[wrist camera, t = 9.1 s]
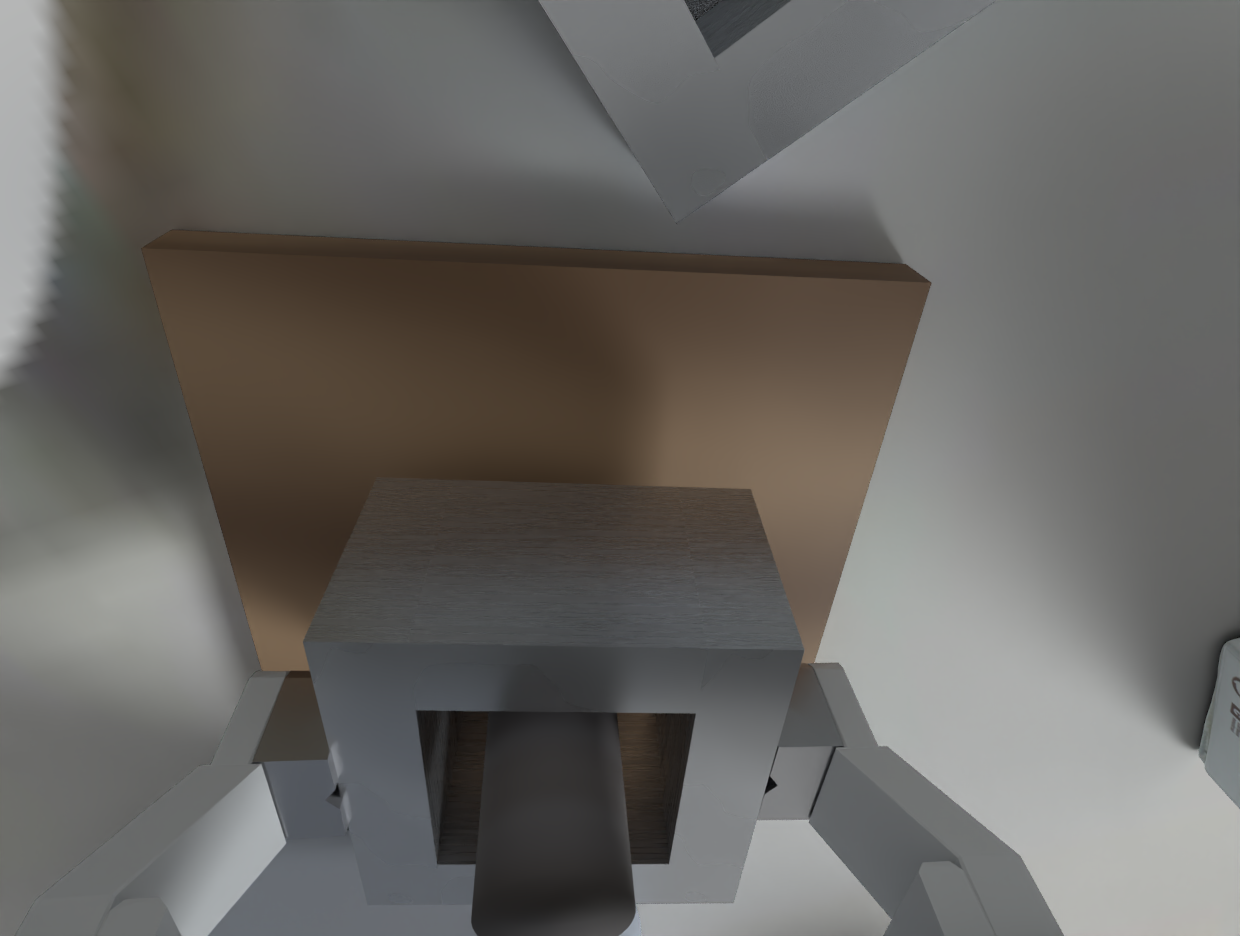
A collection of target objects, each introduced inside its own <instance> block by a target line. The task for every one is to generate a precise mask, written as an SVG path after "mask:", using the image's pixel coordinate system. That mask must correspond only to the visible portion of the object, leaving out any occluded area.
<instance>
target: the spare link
mask: <svg viewBox="0 0 1240 936" xmlns="http://www.w3.org/2000/svg"><path fill="white" fill-rule="evenodd" d="M538 1H539V2H540V4H541V6H542V7H543V9H544V11H545V12H546V14H547V15H548V17H549V19H550V20H551V22H552V23H553V25H554V27H555V28H556V30H557V32H558V33H559V35H560V36H561V38H562V40H563V41H564V43H565V44H566V46H567V48H568V49H569V51H570V53H571V54H572V56H573V57H574V59H575V61H576V62H577V64H578V65H579V67H580V69H581V70H582V72H583V73H584V75H585V77H586V78H587V80H588V82H589V83H590V85H591V86H592V88H593V90H594V91H595V93H596V94H597V96H598V98H599V99H600V101H601V103H602V104H603V106H604V107H605V109H606V111H607V112H608V114H609V115H610V117H611V119H612V120H613V122H614V124H615V125H616V127H617V128H618V130H619V132H620V133H621V135H622V136H623V138H624V140H625V141H626V143H627V145H628V146H629V148H630V149H631V151H632V153H633V154H634V156H635V157H636V159H637V161H638V162H639V164H640V166H641V167H642V169H643V170H644V172H645V174H646V175H647V177H648V178H649V180H650V182H651V183H652V185H653V186H654V188H655V190H656V191H657V193H658V195H659V196H660V198H661V199H662V201H663V203H664V204H665V206H666V207H667V209H668V211H669V212H670V214H671V216H672V217H673V219H674V220H675V222H676V224H677V223H678V222H680V221H681V220H683V219H684V218H685V217H687V216H688V215H690V214H691V213H693V212H694V211H696V210H697V209H698V208H700V207H701V206H703V205H704V204H706V203H707V202H708V201H710V200H711V199H713V198H714V197H716V196H717V195H718V194H720V193H721V192H723V191H724V190H726V189H727V188H728V187H730V186H731V185H733V184H734V183H736V182H737V181H738V180H740V179H741V178H743V177H744V176H746V175H747V174H749V173H750V172H751V171H753V170H754V169H756V168H757V167H759V166H760V165H761V164H763V163H764V162H766V161H767V160H769V159H770V158H771V157H773V156H774V155H776V154H777V153H779V152H780V151H781V150H783V149H784V148H786V147H787V146H789V145H790V144H791V143H793V142H794V141H796V140H797V139H799V138H800V137H802V136H803V135H804V134H806V133H807V132H809V131H810V130H812V129H813V128H814V127H816V126H817V125H819V124H820V123H822V122H823V121H824V120H826V119H827V118H829V117H830V116H832V115H833V114H834V113H836V112H837V111H839V110H840V109H842V108H843V107H844V106H846V105H847V104H849V103H850V102H852V101H853V100H855V99H856V98H857V97H859V96H860V95H862V94H863V93H865V92H866V91H867V90H869V89H870V88H872V87H873V86H875V85H876V84H877V83H879V82H880V81H882V80H883V79H885V78H886V77H887V76H889V75H890V74H892V73H893V72H895V71H896V70H898V69H899V68H900V67H902V66H903V65H905V64H906V63H908V62H909V61H910V60H912V59H913V58H915V57H916V56H918V55H919V54H920V53H922V52H923V51H925V50H926V49H928V48H929V47H930V46H932V45H933V44H935V43H936V42H938V41H939V40H940V39H942V38H943V37H945V36H946V35H948V34H949V33H951V32H952V31H953V30H955V29H956V28H958V27H959V26H961V25H962V24H963V23H965V22H966V21H968V20H969V19H971V18H972V17H973V16H975V15H976V14H978V13H979V12H981V11H982V10H983V9H985V8H986V7H988V6H989V5H991V4H992V3H993V2H995V1H996V0H722V1H721V2H719V3H718V4H717V5H716V6H714V7H713V8H712V9H710V10H709V11H708V12H707V13H705V14H704V15H703V16H701V17H700V18H699V19H697V20H696V21H695V20H694V18H693V16H692V14H691V12H690V10H689V9H688V7H687V5H686V3H685V1H684V0H538Z"/></svg>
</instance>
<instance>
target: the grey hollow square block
mask: <svg viewBox="0 0 1240 936" xmlns="http://www.w3.org/2000/svg"><path fill="white" fill-rule="evenodd" d="M303 645H304V649H305V653H306V657H307V661H308V665H309V669H310V673H311V677H312V681H313V685H314V690H315V694H316V698H317V702H318V706H319V710H320V714H321V718H322V722H323V726H324V730H325V734H326V738H327V742H328V746H329V749H331V752H332V756H333V760H334V764H335V768H336V772H337V776H338V781H337V783H338V787H339V791H340V795H341V798H343V802H344V807H345V812H346V816H347V821H348V828H349V832H350V836H351V840H352V844H353V848H354V852H355V856H356V860H357V864H358V868H359V872H360V877H361V881H362V885H363V889H364V893H365V897H366V901H367V905H472V902H473V890H474V878H475V866H476V854H477V843H478V831H479V819H480V807H481V795H482V783H483V771H484V759H485V747H486V736H487V724H488V712H489V711H520V712H610V713H617V719H618V729H619V740H620V750H621V760H622V771H623V781H624V791H625V802H626V812H627V822H628V833H629V843H630V853H631V864H632V874H633V884H634V895H635V904H680V903H733V902H734V899H735V895H736V892H737V888H738V885H739V881H740V878H741V874H742V870H743V867H744V863H745V860H746V856H747V853H748V849H749V846H750V842H751V838H752V835H753V831H754V828H755V824H756V821H757V817H758V814H759V810H760V807H761V803H762V799H763V796H764V792H765V789H766V785H767V782H768V778H769V775H770V771H771V768H772V764H773V760H774V757H775V753H776V750H777V746H778V743H779V739H780V736H781V732H782V729H783V725H784V721H785V718H786V714H787V711H788V707H789V704H790V700H791V697H792V693H793V690H794V686H795V682H796V679H797V675H798V672H799V668H800V665H801V661H802V658H803V654H804V647H803V644H802V641H801V638H800V635H799V632H798V629H797V626H796V623H795V620H794V617H793V614H792V611H791V608H790V605H789V602H788V599H787V596H786V593H785V590H784V587H783V584H782V581H781V578H780V575H779V572H778V569H777V566H776V563H775V560H774V557H773V554H772V551H771V548H770V545H769V542H768V539H767V536H766V533H765V530H764V527H763V524H762V521H761V518H760V515H759V512H758V509H757V506H756V503H755V500H754V497H753V494H752V491H751V489H733V488H701V487H669V486H637V485H605V484H573V483H540V482H508V481H476V480H444V479H412V478H379V477H377V478H376V480H375V483H374V485H373V487H372V489H371V491H370V494H369V496H368V498H367V500H366V503H365V505H364V507H363V509H362V511H361V514H360V516H359V518H358V520H357V522H356V525H355V527H354V529H353V531H352V534H351V536H350V538H349V540H348V542H347V545H346V547H345V549H344V551H343V553H342V556H341V558H340V560H339V562H338V565H337V567H336V569H335V571H334V573H333V576H332V578H331V580H330V582H329V584H328V587H327V589H326V591H325V593H324V596H323V598H322V600H321V602H320V604H319V607H318V609H317V611H316V613H315V615H314V618H313V620H312V622H311V624H310V627H309V629H308V631H307V633H306V635H305V638H304V640H303Z"/></svg>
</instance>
